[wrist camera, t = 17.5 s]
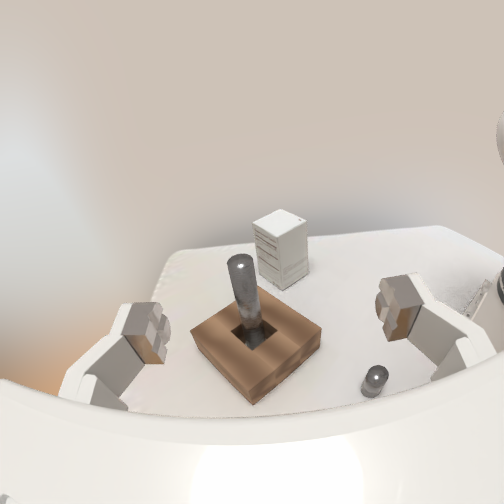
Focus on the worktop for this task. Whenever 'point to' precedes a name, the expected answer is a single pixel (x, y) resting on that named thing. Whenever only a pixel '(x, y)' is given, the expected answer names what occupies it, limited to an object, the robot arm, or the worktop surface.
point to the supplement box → (281, 248)
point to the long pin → (247, 298)
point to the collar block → (266, 354)
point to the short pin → (374, 381)
